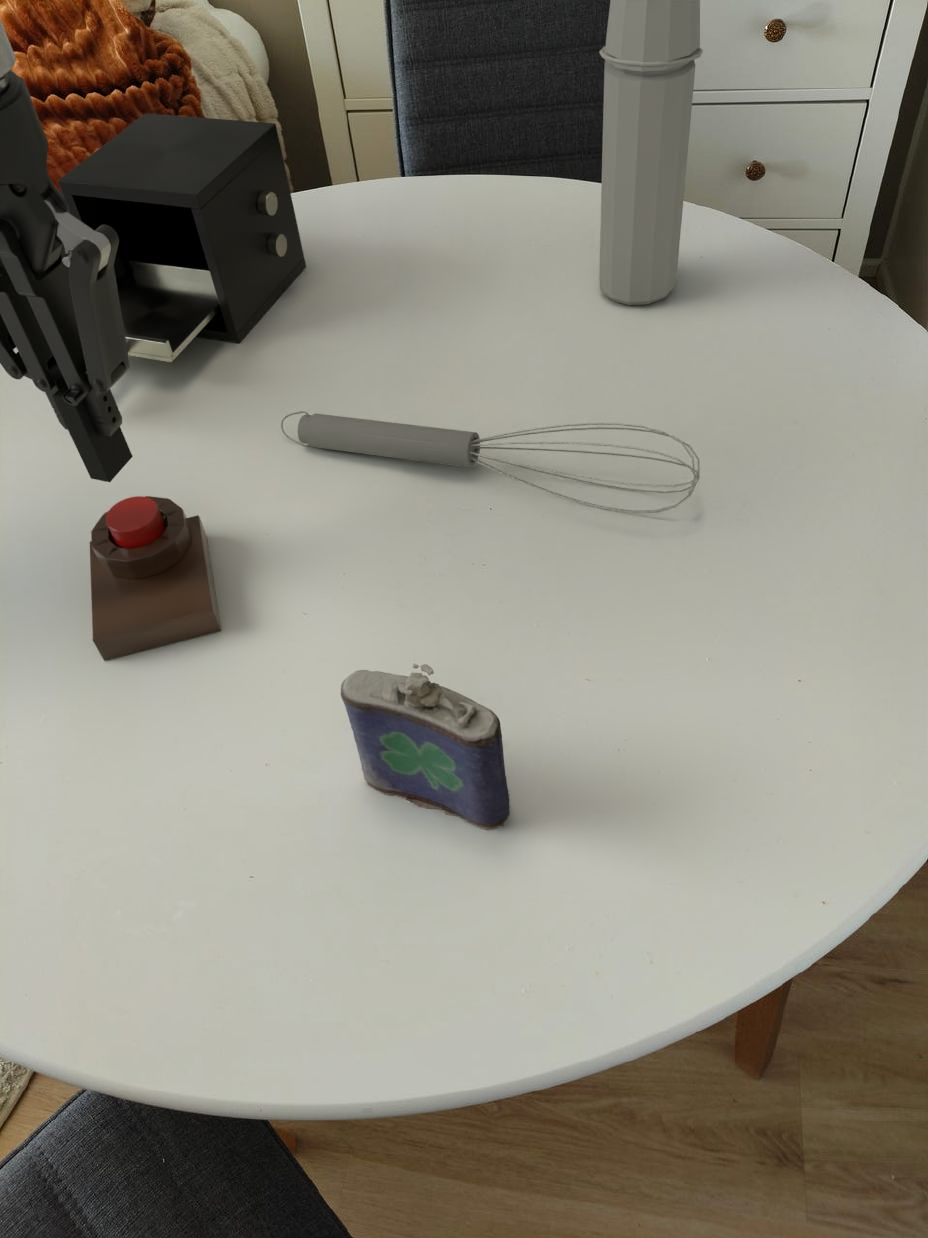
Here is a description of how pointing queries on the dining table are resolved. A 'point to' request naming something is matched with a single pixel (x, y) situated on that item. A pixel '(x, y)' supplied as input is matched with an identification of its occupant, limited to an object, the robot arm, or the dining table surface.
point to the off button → (135, 522)
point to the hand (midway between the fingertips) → (111, 467)
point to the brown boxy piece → (152, 587)
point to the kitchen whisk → (456, 446)
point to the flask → (428, 745)
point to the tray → (165, 307)
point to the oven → (197, 208)
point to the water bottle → (645, 144)
